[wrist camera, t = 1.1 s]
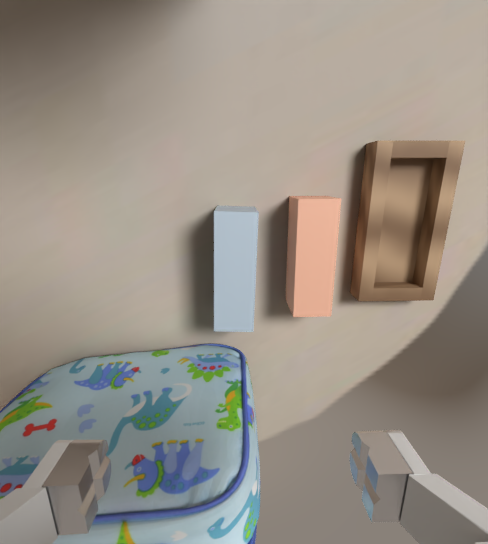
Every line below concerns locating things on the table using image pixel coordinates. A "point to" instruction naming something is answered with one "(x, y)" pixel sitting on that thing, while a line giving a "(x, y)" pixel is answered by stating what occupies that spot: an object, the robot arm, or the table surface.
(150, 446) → the lunch box
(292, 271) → the salmon orange rectangular block
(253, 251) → the pale blue upright slab
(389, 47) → the table surface
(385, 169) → the jig
